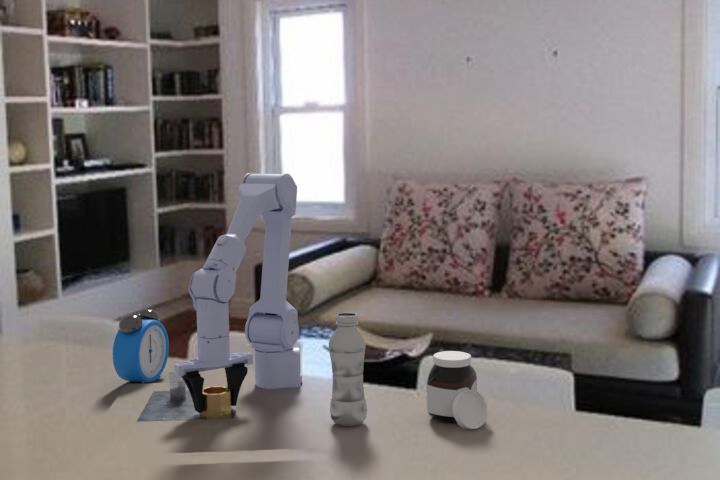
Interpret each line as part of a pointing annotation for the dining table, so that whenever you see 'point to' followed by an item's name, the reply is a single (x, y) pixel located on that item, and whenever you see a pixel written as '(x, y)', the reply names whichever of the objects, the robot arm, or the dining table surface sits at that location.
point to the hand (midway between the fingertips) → (215, 407)
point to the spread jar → (455, 391)
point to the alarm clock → (140, 347)
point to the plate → (174, 404)
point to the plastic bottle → (347, 372)
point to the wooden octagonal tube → (216, 401)
